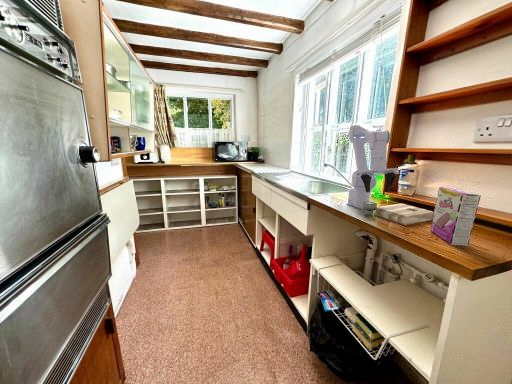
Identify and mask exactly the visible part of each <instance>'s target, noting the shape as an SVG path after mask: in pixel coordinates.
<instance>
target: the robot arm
mask: <svg viewBox="0 0 512 384" xmlns="http://www.w3.org/2000/svg"><path fill="white" fill-rule="evenodd" d="M348 137H349V142H350V143H351V144H352V145H353V152H354V158H355V166H356V170H355V171H353V173H352V174H351V186H352V187H350V189H349V191H348V198H347V202H346V204H347V205H349V206H352V207H353V208H354V207H355V208H358V209H360V210H361V209H362V210H364V209H363V202H364V201H370V200H371V199H370V198H371V194H372V190H373V189H375V187H376V186H377V177H376V176H379V175H384V180H385V189H384V190H385V193H391V188H392V186H393V183H394V182H395V180H396V178H397V175H399V174H400V168H398V167H396V168H395V167H393V168H387V155H388V153H387V150H388V149H387V148H388V144H389V143H390V140H391V133H390V131H389V130H388V129H387V130H381V128H378V126H377V125H372V124H370V123H368V124H354V123H353V124H351V125H350V127H349V132H348ZM365 144H368V145H369V150H370V164H369V165H370V167H368V160H367V154H366V149H365ZM370 202H371V201H370Z"/></svg>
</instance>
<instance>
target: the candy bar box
mask: <svg viewBox="0 0 512 384" xmlns="http://www.w3.org/2000/svg"><path fill="white" fill-rule="evenodd" d="M481 197H482V195H481V194H479V193H474V192H473V191H472V192H471V191H468V190H464V189H462V188H458V187H454V186H452V187H451V186H439V187H438V190H437V197H436V200H435V201H436V202H435V206H434V211H433V217H432V220H431V221H432V222H431V226H430V230H429V232H431V233H433V234H434V235H435V236H437V237H438V238H440V239H442V240H443V241H445V242H446V243H447V244H449V245H450V246H455V247H456V246H457V247H469V244H470V240H471V236H472V232H473V229H474V228H473V227H474V225H475V220H476V216H477V212H478V209H479V204H480V201H481Z"/></svg>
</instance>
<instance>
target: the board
mask: <svg viewBox="0 0 512 384" xmlns="http://www.w3.org/2000/svg"><path fill="white" fill-rule="evenodd" d="M374 215H375V216H377V217H379V218H383V219H386V220H388V221H393V222H395V223H397V224H401V225H404V226H408V225H412V224H418V223H423V222H427V221H432V220H433V216H434V211H432V210H428V209H425V208H420V207H416V206H413V205H410V204H405V203H396V204H395V203H394V204H389V205H381V206H377V208H376V210H375V213H374Z"/></svg>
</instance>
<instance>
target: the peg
mask: <svg viewBox="0 0 512 384" xmlns="http://www.w3.org/2000/svg"><path fill="white" fill-rule="evenodd" d="M377 207H378V203H377V202H374V201H364V202H363V209H362V210H364V211H365V212H364V216H365V217H368V218H372V217H373V211H375V210H376V208H377Z"/></svg>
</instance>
